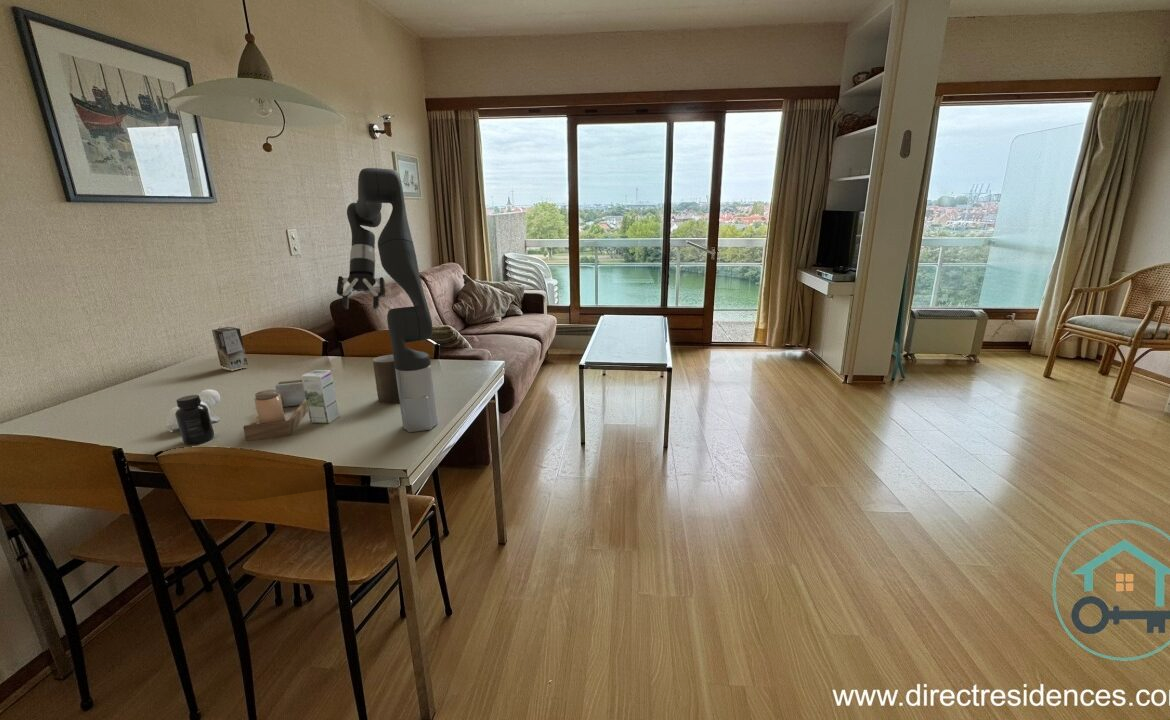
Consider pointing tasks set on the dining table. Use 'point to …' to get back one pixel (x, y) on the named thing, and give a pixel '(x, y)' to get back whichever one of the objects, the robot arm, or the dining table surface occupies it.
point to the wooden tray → (276, 424)
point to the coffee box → (230, 347)
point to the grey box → (291, 393)
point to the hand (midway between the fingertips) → (360, 308)
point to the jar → (269, 406)
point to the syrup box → (320, 396)
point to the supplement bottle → (193, 420)
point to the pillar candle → (386, 379)
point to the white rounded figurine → (207, 399)
